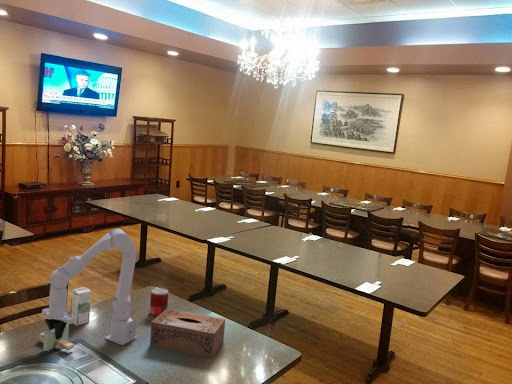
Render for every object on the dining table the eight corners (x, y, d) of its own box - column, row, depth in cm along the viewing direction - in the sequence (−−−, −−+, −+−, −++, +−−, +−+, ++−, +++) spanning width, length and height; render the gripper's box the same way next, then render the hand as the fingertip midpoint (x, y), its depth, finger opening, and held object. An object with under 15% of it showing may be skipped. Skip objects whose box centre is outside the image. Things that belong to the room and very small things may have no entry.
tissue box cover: (149, 346, 165) (151, 321, 164) (165, 331, 179) (166, 308, 178) (212, 358, 160) (214, 333, 159) (223, 342, 174) (225, 319, 173)
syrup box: (82, 318, 183) (84, 286, 181) (89, 323, 179) (91, 290, 178) (69, 322, 179) (71, 289, 177) (76, 326, 175) (78, 293, 173)
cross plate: (64, 341, 162) (65, 324, 161) (68, 342, 161) (68, 325, 160) (43, 350, 154) (43, 332, 153) (46, 352, 153) (47, 333, 152)
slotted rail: (73, 351, 155) (73, 344, 155) (67, 354, 153) (68, 346, 153) (45, 339, 162) (45, 331, 162) (39, 341, 160) (39, 333, 160)
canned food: (164, 317, 191) (166, 294, 190) (147, 316, 191) (149, 292, 190) (168, 311, 199) (170, 288, 198) (151, 309, 199) (153, 287, 198)
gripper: (35, 300, 155) (34, 335, 157) (61, 310, 149) (60, 347, 150) (52, 295, 162) (50, 329, 163) (78, 304, 155) (76, 339, 157)
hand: (56, 337), depth 157 cm, fingers closed on cross plate, 2 cm apart
